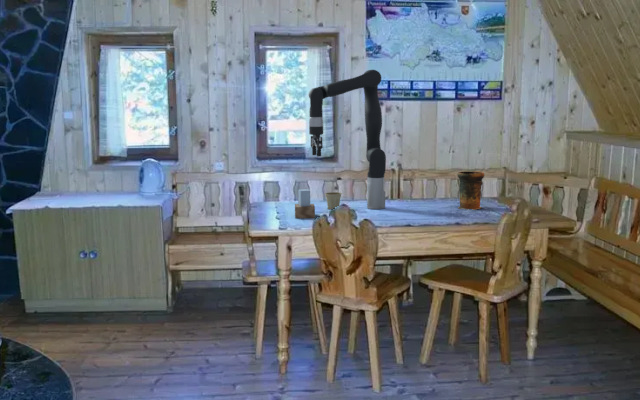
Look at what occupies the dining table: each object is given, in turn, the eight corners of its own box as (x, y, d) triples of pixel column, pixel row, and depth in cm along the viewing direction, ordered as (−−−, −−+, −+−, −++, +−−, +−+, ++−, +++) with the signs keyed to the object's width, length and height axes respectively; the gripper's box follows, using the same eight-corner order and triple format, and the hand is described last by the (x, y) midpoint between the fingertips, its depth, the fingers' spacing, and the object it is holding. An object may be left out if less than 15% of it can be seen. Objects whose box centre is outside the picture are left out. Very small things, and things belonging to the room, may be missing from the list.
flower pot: (321, 209, 351) (321, 193, 349) (329, 206, 359) (329, 191, 358) (337, 210, 347) (337, 195, 345) (344, 208, 355) (344, 192, 353)
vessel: (477, 211, 344) (477, 174, 341) (452, 208, 353) (453, 172, 350) (487, 207, 355) (488, 171, 353) (463, 205, 364) (464, 170, 361)
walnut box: (314, 214, 336) (313, 203, 335) (314, 218, 326) (314, 206, 325) (295, 215, 336) (294, 203, 335) (295, 218, 326) (295, 207, 325)
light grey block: (307, 204, 333) (307, 189, 332) (310, 205, 328) (310, 190, 327) (298, 204, 332) (298, 189, 330) (300, 206, 327) (300, 191, 325)
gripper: (326, 126, 337) (327, 156, 340) (318, 124, 351) (319, 154, 353) (313, 126, 335) (313, 157, 338) (305, 125, 349) (306, 154, 351)
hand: (316, 155), depth 346 cm, fingers open, 8 cm apart
